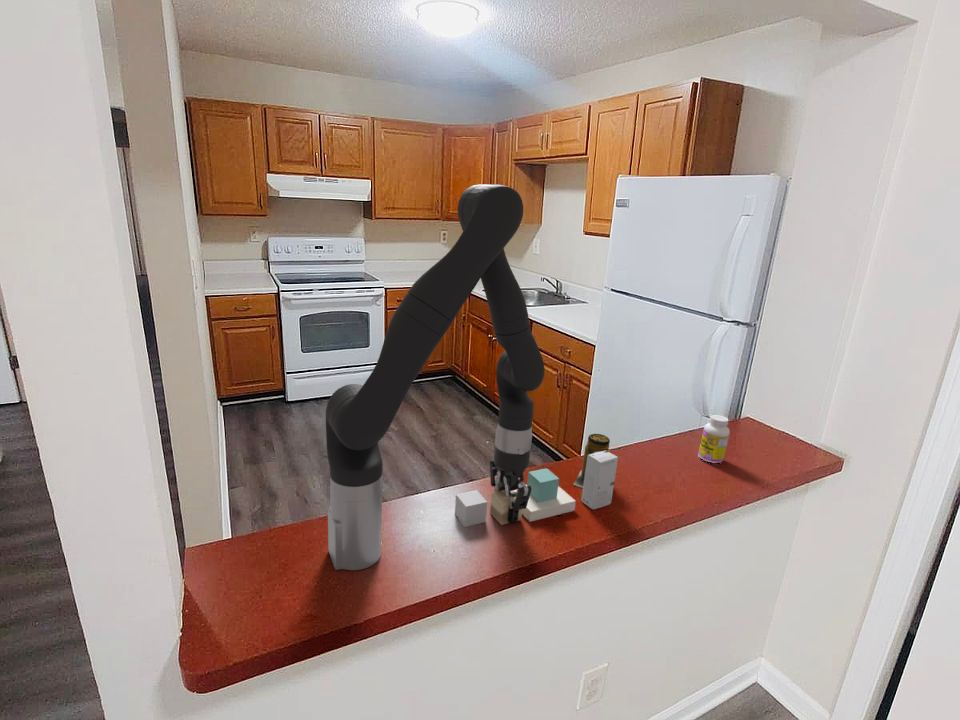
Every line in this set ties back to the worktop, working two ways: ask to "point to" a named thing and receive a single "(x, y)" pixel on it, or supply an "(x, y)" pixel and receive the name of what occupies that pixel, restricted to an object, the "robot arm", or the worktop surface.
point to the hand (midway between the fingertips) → (505, 514)
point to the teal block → (543, 485)
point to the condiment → (593, 445)
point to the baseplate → (549, 506)
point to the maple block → (501, 506)
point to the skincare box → (599, 479)
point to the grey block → (470, 508)
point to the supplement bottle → (714, 439)
